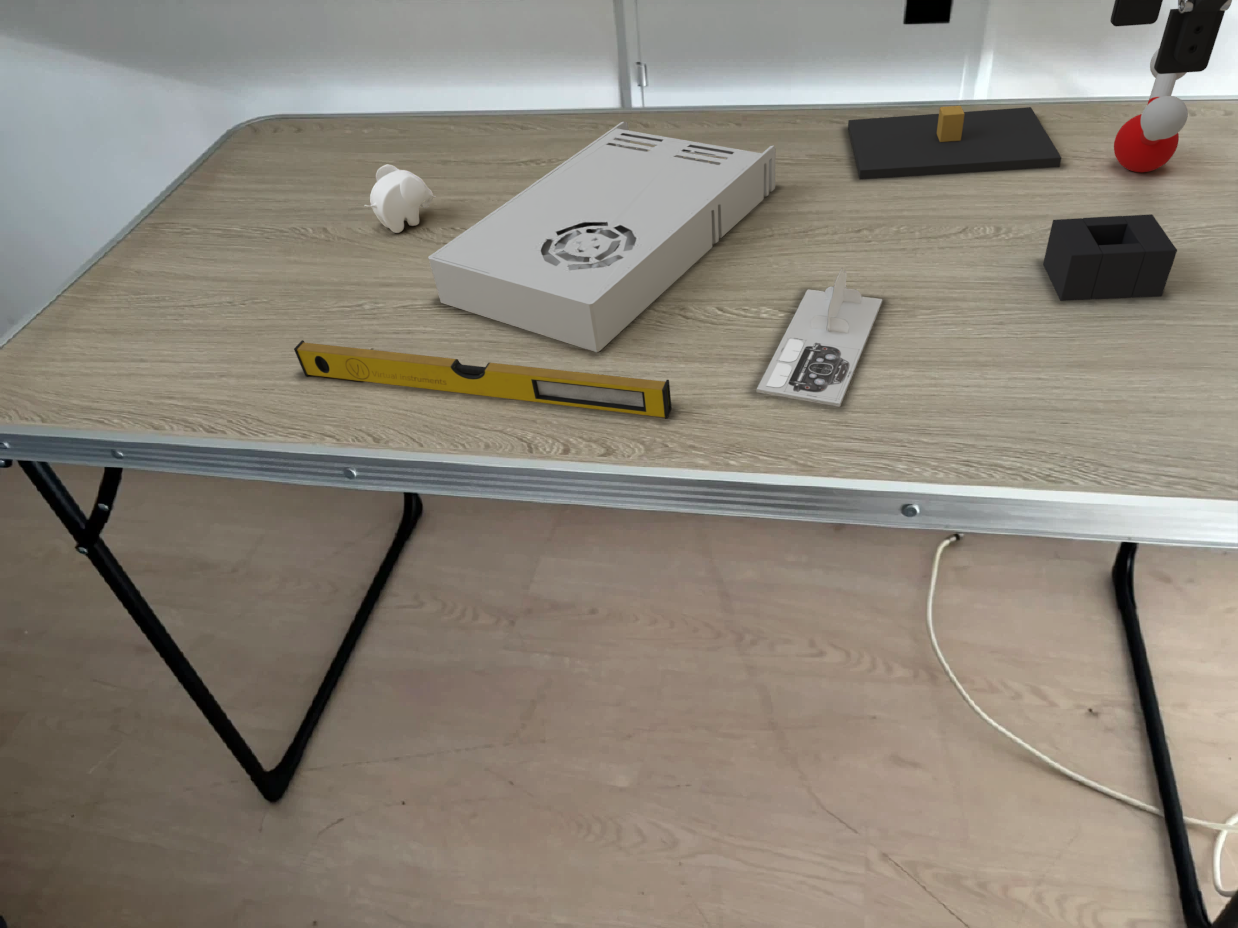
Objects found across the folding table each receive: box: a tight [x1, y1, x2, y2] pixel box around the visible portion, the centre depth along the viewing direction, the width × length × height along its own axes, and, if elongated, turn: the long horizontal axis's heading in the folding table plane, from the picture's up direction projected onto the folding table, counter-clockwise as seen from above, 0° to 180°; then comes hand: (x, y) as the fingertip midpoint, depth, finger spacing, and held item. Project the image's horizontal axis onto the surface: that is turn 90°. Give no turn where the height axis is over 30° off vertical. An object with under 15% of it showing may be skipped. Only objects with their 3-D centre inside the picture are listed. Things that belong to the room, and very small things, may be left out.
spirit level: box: [293, 339, 673, 420], centre depth 76 cm, size 33×1×3 cm, turn 72°
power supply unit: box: [427, 121, 777, 353], centre depth 92 cm, size 19×33×5 cm, turn 146°
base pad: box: [847, 105, 1062, 181], centre depth 100 cm, size 20×13×4 cm, turn 85°
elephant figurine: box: [364, 163, 437, 234], centre depth 100 cm, size 7×8×6 cm
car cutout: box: [755, 267, 884, 408], centre depth 75 cm, size 15×7×4 cm, turn 156°
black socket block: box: [1042, 213, 1178, 302], centre depth 78 cm, size 8×6×4 cm
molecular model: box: [1113, 48, 1189, 173], centre depth 90 cm, size 18×6×10 cm, turn 154°
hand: (1154, 46), depth 66 cm, fingers open, 9 cm apart
